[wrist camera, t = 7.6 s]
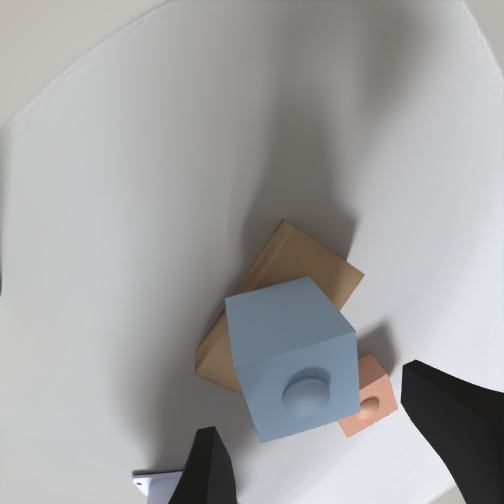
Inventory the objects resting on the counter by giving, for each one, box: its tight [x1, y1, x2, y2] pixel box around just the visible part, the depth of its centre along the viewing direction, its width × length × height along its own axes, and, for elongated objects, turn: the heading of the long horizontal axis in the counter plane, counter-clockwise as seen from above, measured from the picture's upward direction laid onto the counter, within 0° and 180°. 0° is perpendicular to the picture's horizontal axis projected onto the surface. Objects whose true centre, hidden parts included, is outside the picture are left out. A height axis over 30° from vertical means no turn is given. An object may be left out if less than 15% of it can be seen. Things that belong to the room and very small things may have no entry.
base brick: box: [195, 219, 365, 395], centre depth 19 cm, size 10×5×3 cm, turn 147°
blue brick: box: [225, 276, 360, 443], centre depth 14 cm, size 4×4×6 cm
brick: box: [338, 353, 398, 438], centre depth 21 cm, size 4×4×3 cm
